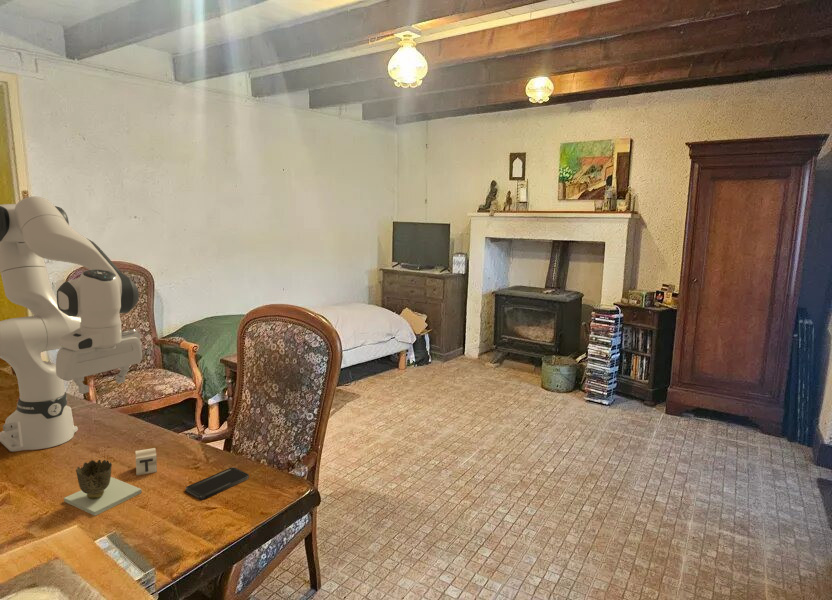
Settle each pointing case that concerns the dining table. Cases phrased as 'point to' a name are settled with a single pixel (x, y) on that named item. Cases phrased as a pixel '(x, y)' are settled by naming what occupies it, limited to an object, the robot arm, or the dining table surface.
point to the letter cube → (146, 461)
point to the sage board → (104, 497)
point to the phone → (216, 483)
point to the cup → (94, 478)
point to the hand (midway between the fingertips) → (102, 387)
